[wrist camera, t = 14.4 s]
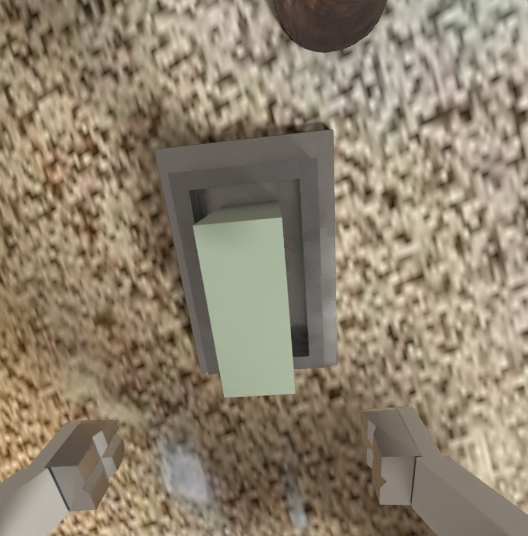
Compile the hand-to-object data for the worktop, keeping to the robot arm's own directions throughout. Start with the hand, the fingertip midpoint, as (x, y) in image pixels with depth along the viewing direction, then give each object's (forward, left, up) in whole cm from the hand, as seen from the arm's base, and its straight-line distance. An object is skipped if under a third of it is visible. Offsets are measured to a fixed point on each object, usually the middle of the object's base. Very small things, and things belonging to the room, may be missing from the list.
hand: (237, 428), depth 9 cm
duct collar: (0, 0, -16) cm, 16 cm away
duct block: (0, 0, -15) cm, 15 cm away
